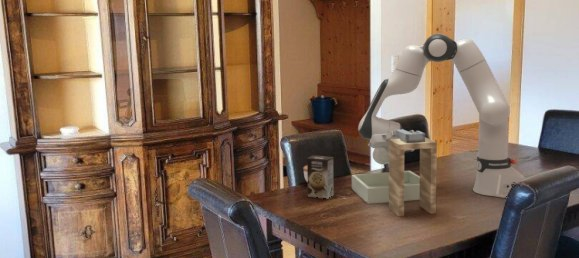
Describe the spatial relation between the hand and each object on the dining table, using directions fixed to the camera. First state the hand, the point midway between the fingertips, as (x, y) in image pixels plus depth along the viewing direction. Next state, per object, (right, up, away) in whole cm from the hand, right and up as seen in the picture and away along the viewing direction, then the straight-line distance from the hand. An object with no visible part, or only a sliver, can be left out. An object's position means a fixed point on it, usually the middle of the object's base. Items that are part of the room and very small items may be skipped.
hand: (403, 132), depth 205 cm
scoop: (+1, -2, -4) cm, 5 cm away
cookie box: (-30, -26, +17) cm, 43 cm away
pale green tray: (-2, -25, +18) cm, 31 cm away
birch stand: (+2, -29, -4) cm, 29 cm away
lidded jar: (-31, -23, +35) cm, 52 cm away
